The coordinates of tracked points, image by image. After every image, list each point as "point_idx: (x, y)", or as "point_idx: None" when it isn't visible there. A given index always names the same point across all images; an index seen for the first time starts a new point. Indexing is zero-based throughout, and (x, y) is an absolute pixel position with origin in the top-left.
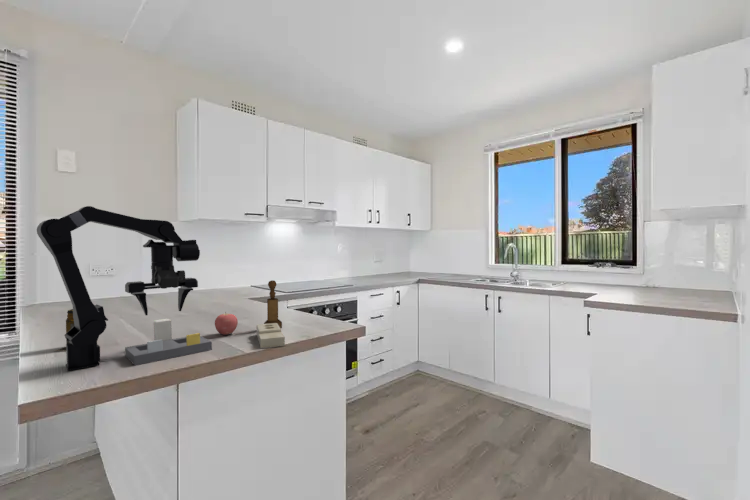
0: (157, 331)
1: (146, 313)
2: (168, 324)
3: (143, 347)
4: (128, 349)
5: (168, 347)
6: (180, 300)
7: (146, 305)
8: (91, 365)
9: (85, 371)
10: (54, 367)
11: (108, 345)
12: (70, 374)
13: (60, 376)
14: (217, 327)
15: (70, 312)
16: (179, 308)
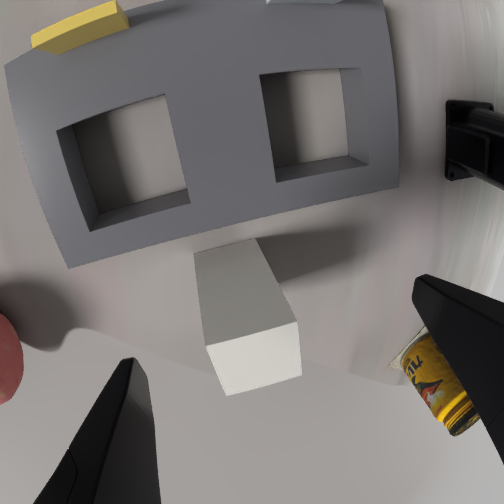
0: (277, 283)
1: (434, 278)
2: (220, 323)
3: (333, 168)
4: (395, 135)
5: (229, 35)
6: (117, 460)
7: (490, 314)
8: (461, 100)
9: (466, 68)
10: None
11: (376, 344)
12: (485, 72)
13: (495, 74)
14: (3, 333)
15: None
16: (134, 380)
